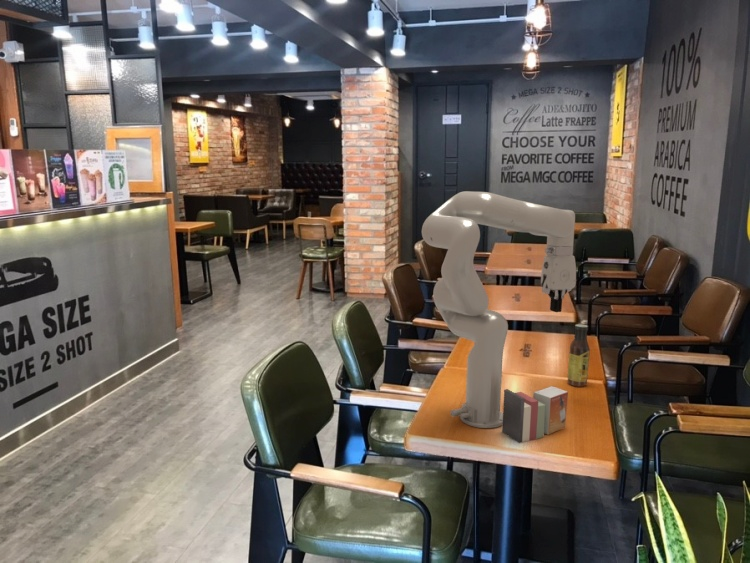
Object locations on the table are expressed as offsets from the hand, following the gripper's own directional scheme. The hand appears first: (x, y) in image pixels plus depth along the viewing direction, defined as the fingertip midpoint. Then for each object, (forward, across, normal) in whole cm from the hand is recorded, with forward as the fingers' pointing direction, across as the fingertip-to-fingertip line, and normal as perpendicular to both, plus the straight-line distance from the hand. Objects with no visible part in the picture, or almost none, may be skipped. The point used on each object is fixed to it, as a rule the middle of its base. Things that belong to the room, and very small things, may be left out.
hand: (555, 311), depth 177 cm
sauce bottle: (+27, +15, +4) cm, 31 cm away
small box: (+27, -17, -18) cm, 37 cm away
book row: (+27, -26, -18) cm, 42 cm away
